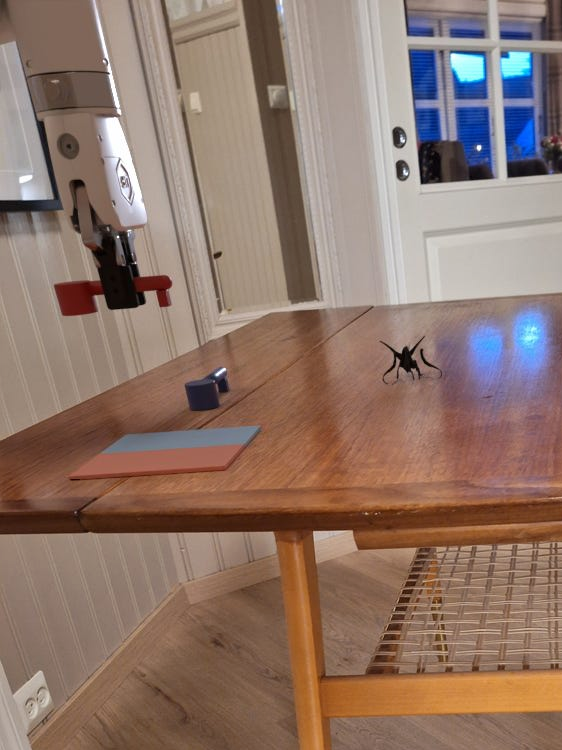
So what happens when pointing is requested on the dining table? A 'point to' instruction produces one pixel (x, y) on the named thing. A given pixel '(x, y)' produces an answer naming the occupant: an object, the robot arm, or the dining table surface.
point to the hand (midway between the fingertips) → (127, 306)
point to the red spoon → (82, 293)
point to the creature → (407, 361)
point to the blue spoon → (207, 390)
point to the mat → (169, 453)
